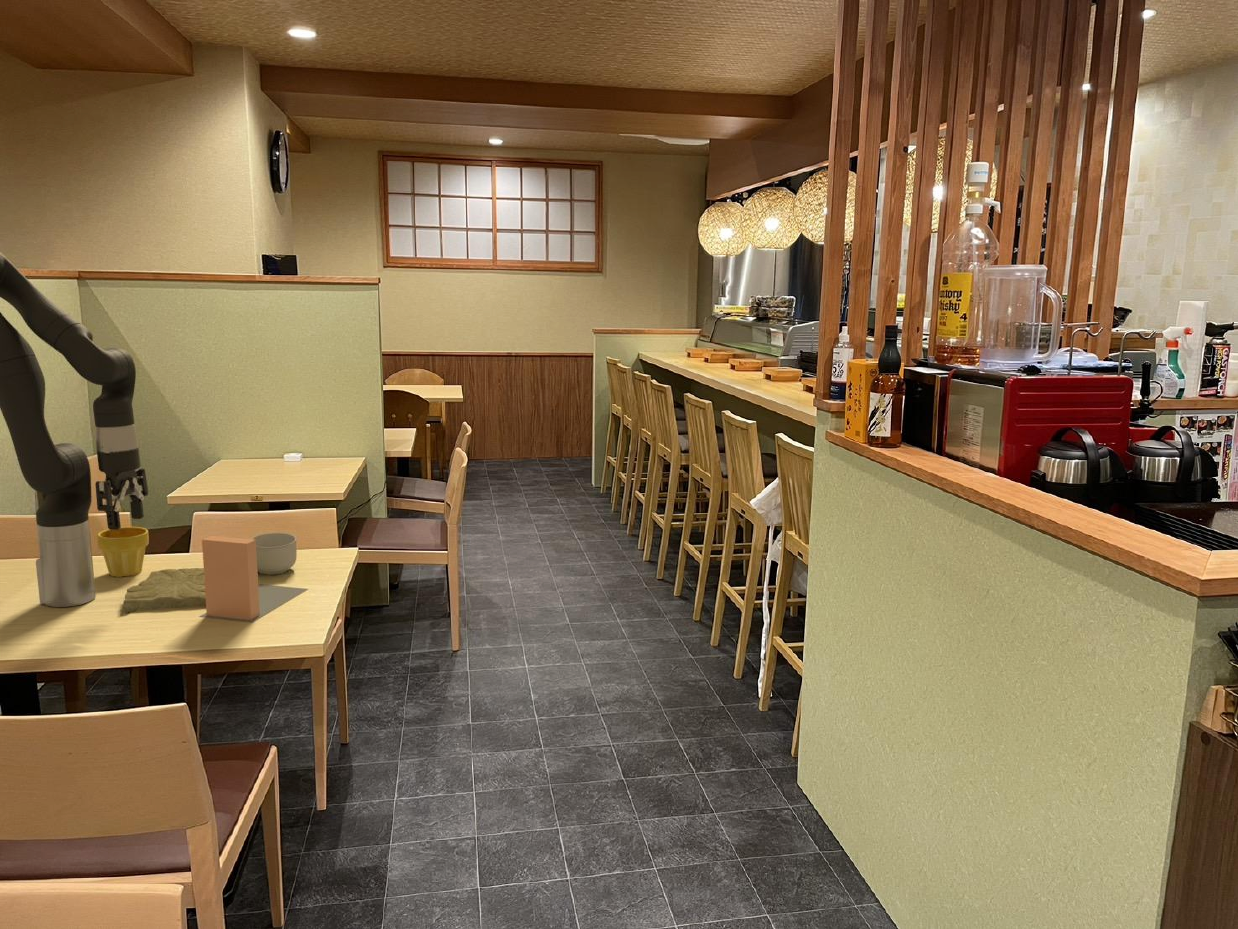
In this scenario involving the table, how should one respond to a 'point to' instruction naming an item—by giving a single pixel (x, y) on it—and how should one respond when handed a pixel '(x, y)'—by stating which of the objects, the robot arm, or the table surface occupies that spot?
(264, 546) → the teacup
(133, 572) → the plant pot
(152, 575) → the decorative tile
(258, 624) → the table surface
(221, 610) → the terracotta tile
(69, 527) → the robot arm
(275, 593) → the rubber mat
